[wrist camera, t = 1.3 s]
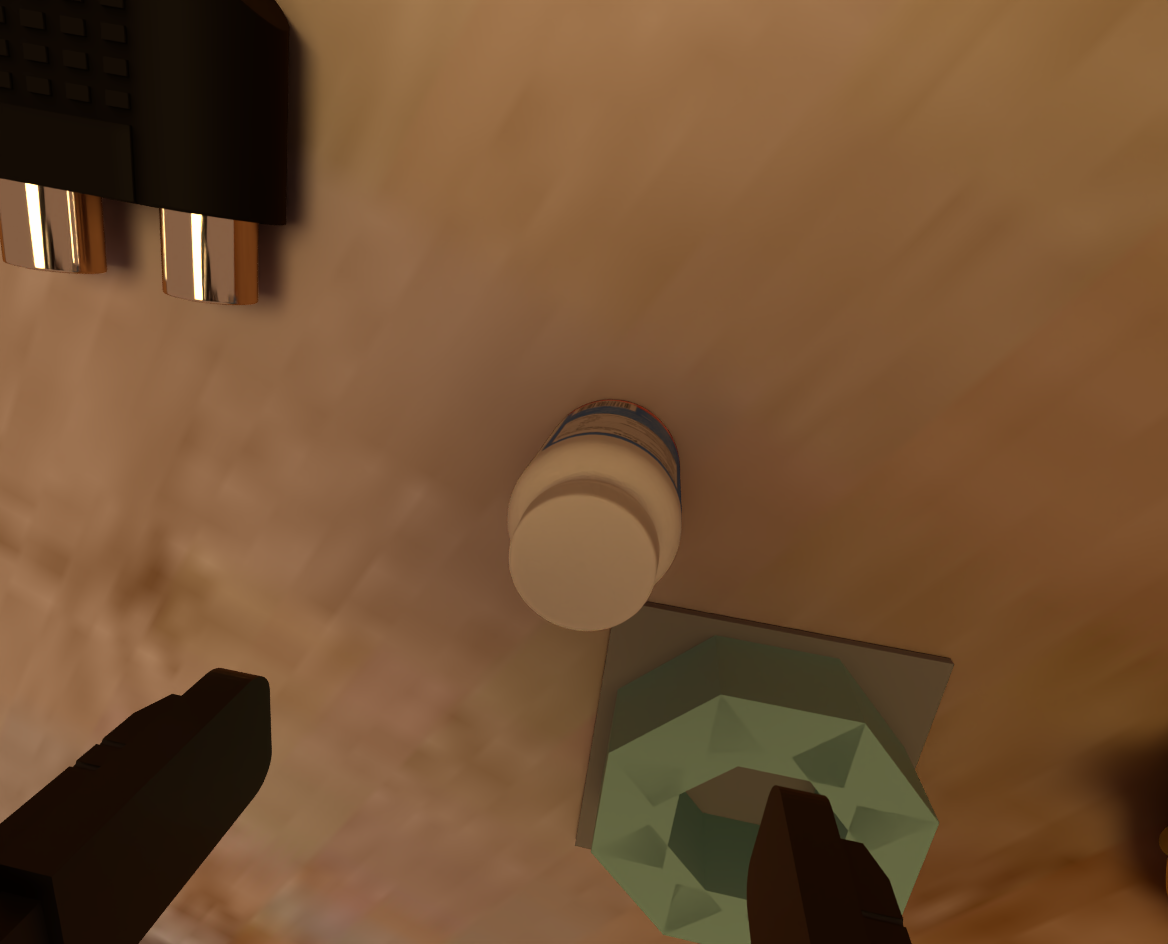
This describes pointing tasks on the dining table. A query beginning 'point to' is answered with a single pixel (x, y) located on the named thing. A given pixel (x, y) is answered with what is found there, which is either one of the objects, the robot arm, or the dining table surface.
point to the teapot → (1164, 849)
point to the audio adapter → (144, 134)
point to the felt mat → (662, 632)
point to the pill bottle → (596, 516)
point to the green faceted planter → (756, 741)
